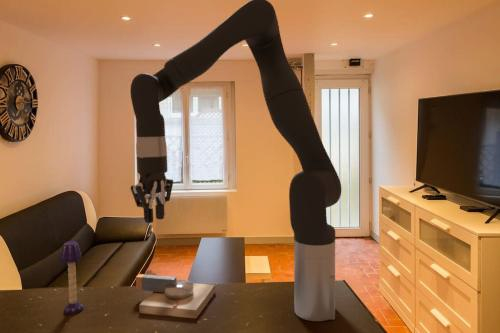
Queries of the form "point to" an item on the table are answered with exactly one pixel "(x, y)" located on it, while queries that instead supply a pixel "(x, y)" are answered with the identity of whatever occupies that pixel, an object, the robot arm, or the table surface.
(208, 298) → the board
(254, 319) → the table surface
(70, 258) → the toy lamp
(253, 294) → the table surface
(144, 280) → the orange-tipped lever
